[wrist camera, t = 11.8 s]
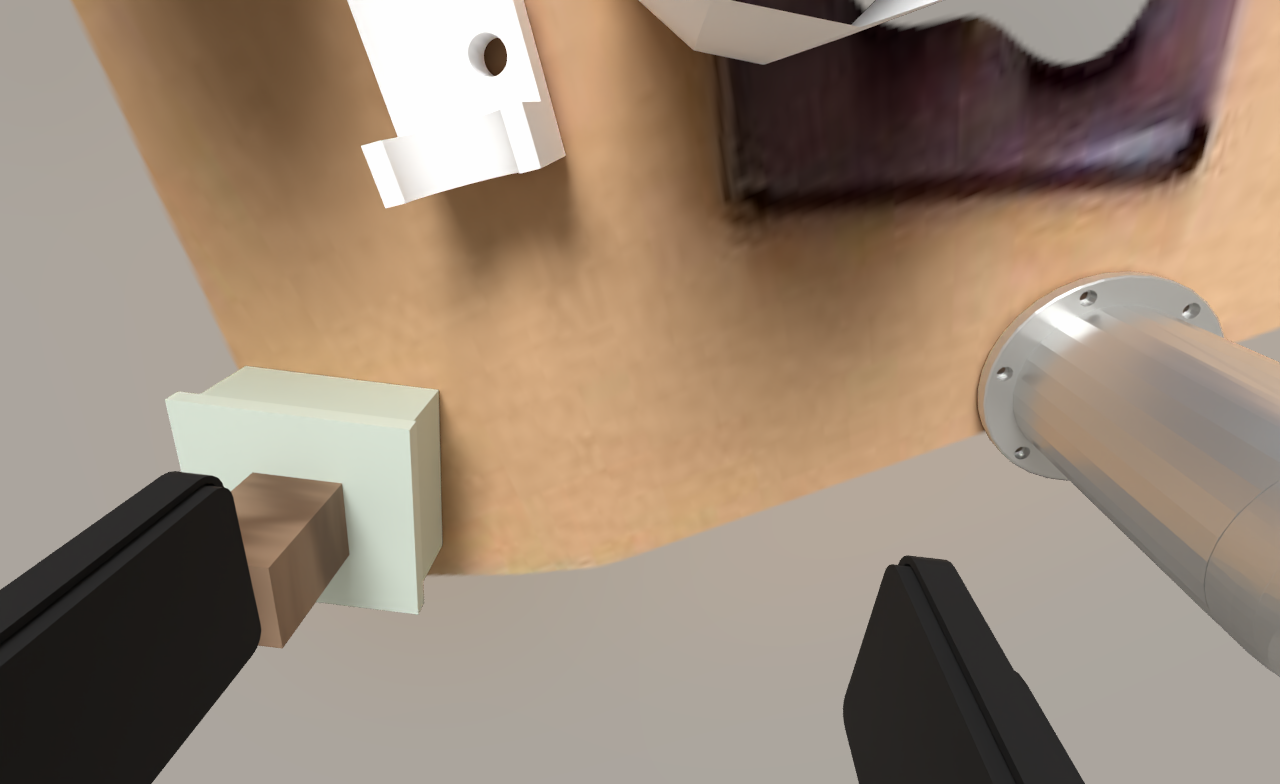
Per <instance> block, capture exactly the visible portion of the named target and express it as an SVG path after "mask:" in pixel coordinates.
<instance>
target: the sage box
mask: <svg viewBox="0 0 1280 784" xmlns="http://www.w3.org/2000/svg"><path fill="white" fill-rule="evenodd" d="M165 402H166V407H167V411H168V415H169V420H170V424H171V428H172V433H173V437H174V442H175V446H176V450H177V455H178V459H179V463H180V468H181V472H186V473H195V474H203V475H212V476H215V477H218V478H219V479H220V480H221V482H222V483H223V486H224V487H225V488H228V489H229V490H230V491H232V490H233V489H234V488H235V487H236V486H238V485H239V484H240V483H241V482H242V481H243V480H244V479H246V478H247V477H248V476H249V475H250V474H251V473H252V472H254V473H262V474H270V475H278V476H286V477H294V478H302V479H311V480H319V481H327V482H335V483H342V488H343V497H344V507H345V516H346V526H347V535H348V545H349V554H350V555H349V556H348V558H347V559H346V560H345V562H344V563H343V565H342V566H341V567H340V569H339V570H338V572H337V573H336V574H335V576H334V577H333V579H332V580H331V581H330V583H329V584H328V586H327V587H326V588H325V590H324V591H323V593H322V594H321V595H320V597H319V598H318V599H317V601H316V602H320V603H328V604H336V605H344V606H352V607H360V608H369V609H376V610H384V611H393V612H400V613H409V614H416V615H418V614H419V612H420V610H421V608H422V606H423V604H424V590H423V581H424V579H425V577H426V576H427V574H428V572H429V570H430V568H431V566H432V564H433V562H434V560H435V558H436V556H437V555H438V553H439V551H440V549H441V547H442V503H441V462H440V421H439V390H435V389H427V388H419V387H411V386H403V385H395V384H387V383H379V382H371V381H363V380H355V379H347V378H339V377H331V376H323V375H315V374H307V373H299V372H291V371H283V370H275V369H267V368H258V367H250V366H245V367H243V368H241V369H240V370H238V371H237V372H235V373H233V374H232V375H230V376H229V377H227V378H225V379H224V380H222V381H221V382H219V383H217V384H216V385H214V386H212V387H211V388H209V389H208V390H206V391H204V392H203V393H201V394H193V393H186V392H177V393H175V394H173V395H172V396H170V397H168V398H167V399H165Z"/></svg>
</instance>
